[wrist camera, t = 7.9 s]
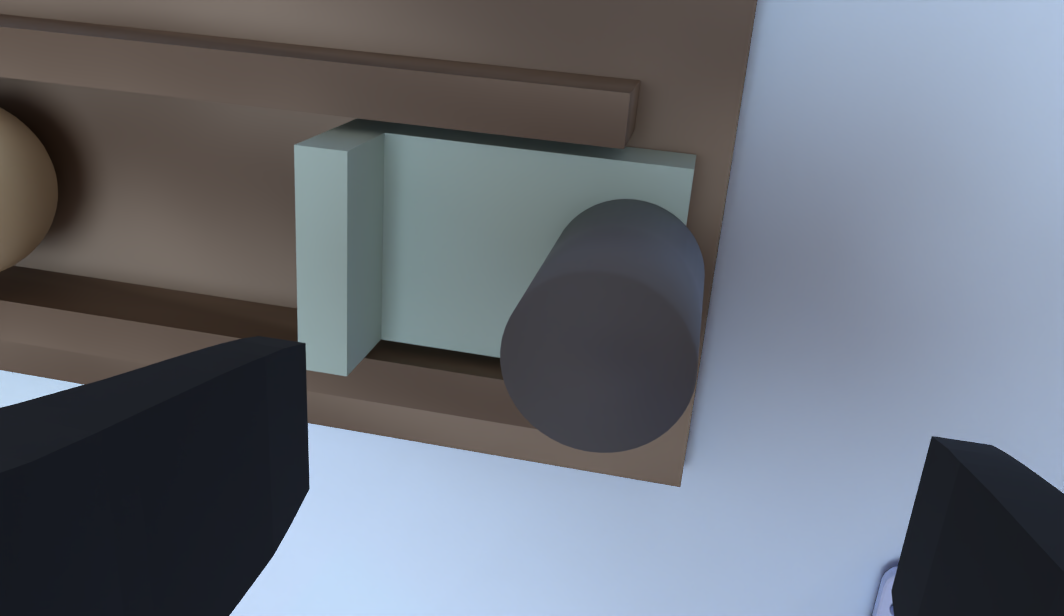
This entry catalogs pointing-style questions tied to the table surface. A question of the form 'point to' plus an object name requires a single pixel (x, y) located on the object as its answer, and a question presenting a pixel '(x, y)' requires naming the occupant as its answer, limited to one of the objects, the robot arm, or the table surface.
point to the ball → (23, 191)
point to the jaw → (507, 268)
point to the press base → (269, 174)
